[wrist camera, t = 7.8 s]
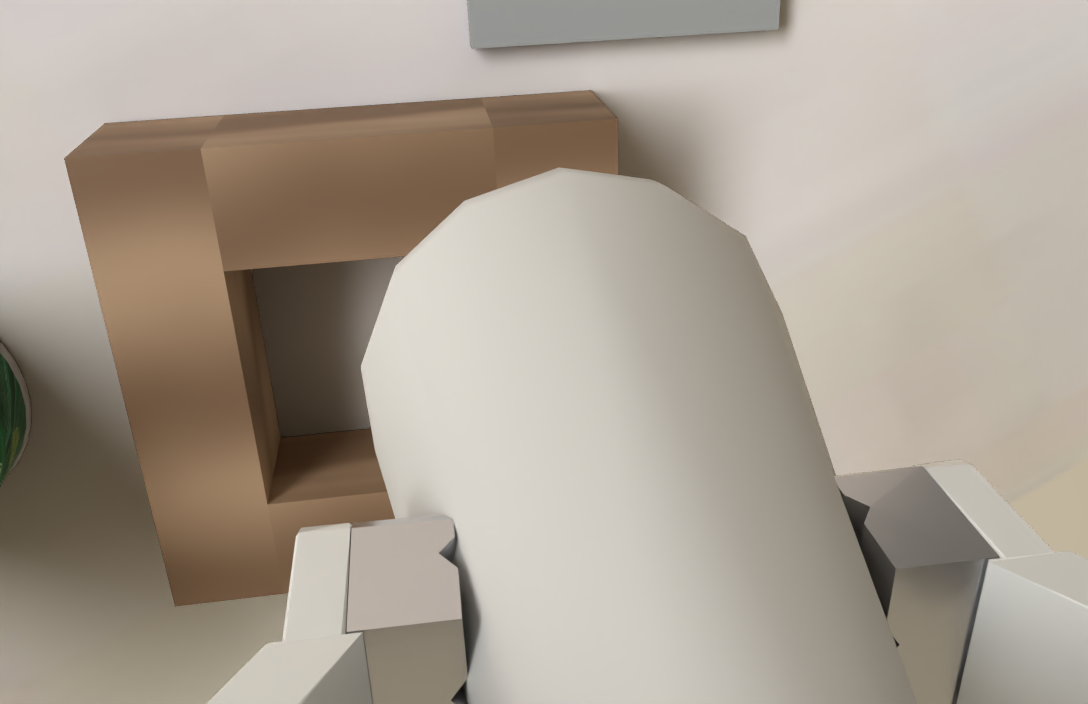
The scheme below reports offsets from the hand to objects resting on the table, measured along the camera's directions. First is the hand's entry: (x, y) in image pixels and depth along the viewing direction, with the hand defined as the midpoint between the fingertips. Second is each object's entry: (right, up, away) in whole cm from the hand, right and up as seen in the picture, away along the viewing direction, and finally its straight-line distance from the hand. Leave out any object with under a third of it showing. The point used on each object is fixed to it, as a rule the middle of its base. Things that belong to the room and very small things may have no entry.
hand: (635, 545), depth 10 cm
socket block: (-6, +3, +22) cm, 23 cm away
